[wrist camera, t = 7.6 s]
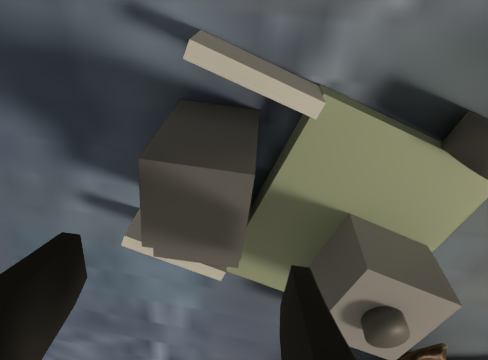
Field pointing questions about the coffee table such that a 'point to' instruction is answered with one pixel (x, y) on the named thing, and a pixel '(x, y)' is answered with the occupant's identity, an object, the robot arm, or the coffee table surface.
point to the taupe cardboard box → (199, 183)
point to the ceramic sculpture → (428, 353)
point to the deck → (352, 205)
